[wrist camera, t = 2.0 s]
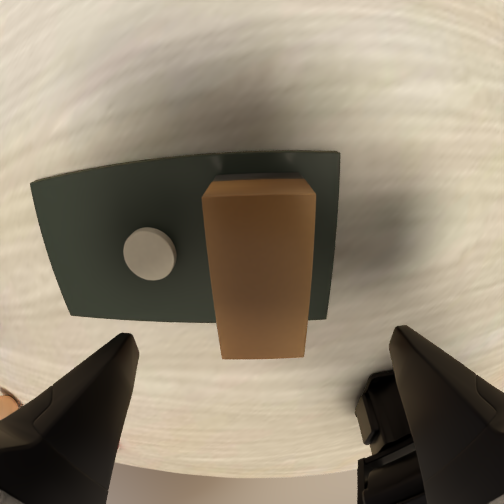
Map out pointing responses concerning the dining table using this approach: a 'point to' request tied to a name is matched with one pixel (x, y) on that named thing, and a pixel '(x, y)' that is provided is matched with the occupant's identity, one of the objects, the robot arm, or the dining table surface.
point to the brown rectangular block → (260, 262)
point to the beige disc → (150, 253)
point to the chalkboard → (164, 230)
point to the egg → (7, 406)
